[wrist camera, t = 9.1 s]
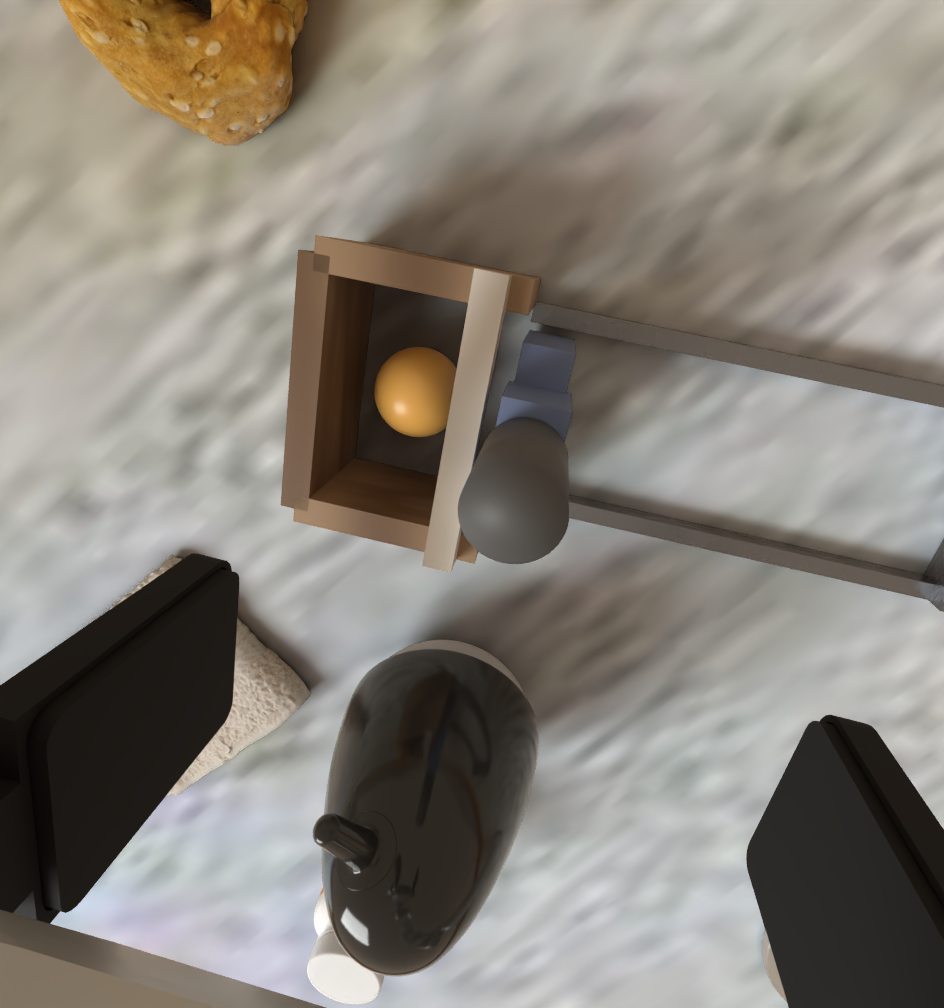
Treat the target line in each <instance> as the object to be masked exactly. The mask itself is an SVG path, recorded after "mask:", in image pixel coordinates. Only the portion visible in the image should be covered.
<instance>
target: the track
mask: <svg viewBox="0 0 944 1008" xmlns="http://www.w3.org/2000/svg"><path fill="white" fill-rule="evenodd" d="M531 322H535V323H540V324H545V325H550V326H555V327H559V328H564V329H569V330H574V331H579V332H583V333H588V334H593V335H598V336H603V337H607V338H612V339H617V340H622V341H627V342H631V343H636V344H641V345H646V346H651V347H655V348H660V349H665V350H670V351H675V352H679V353H684V354H689V355H694V356H699V357H703V358H708V359H713V360H718V361H723V362H728V363H732V364H737V365H742V366H747V367H752V368H756V369H761V370H766V371H771V372H776V373H780V374H785V375H790V376H795V377H800V378H804V379H809V380H814V381H819V382H824V383H828V384H833V385H838V386H843V387H848V388H852V389H857V390H862V391H867V392H872V393H876V394H881V395H886V396H891V397H896V398H900V399H905V400H910V401H915V402H920V403H924V404H929V405H934V406H939V407H944V385H939V384H934V383H929V382H924V381H919V380H914V379H910V378H905V377H900V376H895V375H890V374H885V373H880V372H876V371H871V370H866V369H861V368H856V367H851V366H846V365H842V364H837V363H832V362H827V361H822V360H817V359H812V358H808V357H803V356H798V355H793V354H788V353H783V352H778V351H774V350H769V349H764V348H759V347H754V346H749V345H744V344H740V343H735V342H730V341H725V340H720V339H715V338H710V337H706V336H701V335H696V334H691V333H686V332H681V331H676V330H672V329H667V328H662V327H657V326H652V325H647V324H642V323H638V322H633V321H628V320H623V319H618V318H613V317H608V316H604V315H599V314H594V313H589V312H584V311H579V310H574V309H570V308H565V307H560V306H555V305H550V304H545V303H540V302H535V304H534V309H533V313H532V318H531ZM569 518H572V519H577V520H581V521H585V522H590V523H594V524H599V525H603V526H607V527H612V528H616V529H621V530H625V531H629V532H634V533H638V534H642V535H647V536H651V537H656V538H660V539H664V540H669V541H673V542H677V543H682V544H686V545H691V546H695V547H699V548H704V549H708V550H713V551H717V552H721V553H726V554H730V555H734V556H739V557H743V558H748V559H752V560H756V561H761V562H765V563H770V564H774V565H778V566H783V567H787V568H791V569H796V570H800V571H805V572H809V573H813V574H818V575H822V576H827V577H831V578H835V579H840V580H844V581H848V582H853V583H857V584H862V585H866V586H870V587H875V588H879V589H883V590H888V591H892V592H897V593H901V594H905V595H910V596H914V597H919V598H923V599H927V600H929V601H930V602H931V603H932V604H933V605H934V606H935V607H936V608H938V609H939V610H940V611H943V612H944V539H943V541H942V543H941V545H940V546H939V548H938V550H937V552H936V554H935V556H934V557H933V559H932V561H931V563H930V565H929V567H928V568H927V570H926V572H925V574H924V575H922V574H917V573H913V572H909V571H904V570H900V569H895V568H891V567H886V566H882V565H877V564H873V563H869V562H864V561H860V560H855V559H851V558H846V557H842V556H838V555H833V554H829V553H824V552H820V551H815V550H811V549H807V548H802V547H798V546H793V545H789V544H784V543H780V542H776V541H771V540H767V539H762V538H758V537H753V536H749V535H745V534H740V533H736V532H731V531H727V530H722V529H718V528H714V527H709V526H705V525H700V524H696V523H691V522H687V521H683V520H678V519H674V518H669V517H665V516H660V515H656V514H652V513H647V512H643V511H638V510H634V509H629V508H625V507H621V506H616V505H612V504H607V503H603V502H598V501H594V500H590V499H585V498H581V497H576V496H572V495H569Z"/></svg>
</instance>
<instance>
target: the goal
mask: <svg viewBox="0 0 944 1008" xmlns="http://www.w3.org/2000/svg"><path fill="white" fill-rule="evenodd" d="M540 280H541V278H538V277H533V276H528V275H523V274H518V273H513V272H508V271H503V270H499V269H494V268H489V267H484V266H479V265H474V264H469V263H464V262H459V261H454V260H449V259H444V258H440V257H435V256H430V255H425V254H420V253H415V252H410V251H405V250H400V249H395V248H390V247H385V246H380V245H376V244H371V243H365V242H358V241H352V240H345V239H338V238H331V237H324V236H317V235H316V236H315V249H314V251H306V250H298V262H297V277H296V291H295V306H294V320H293V335H292V350H291V364H290V379H289V394H288V408H287V423H286V438H285V452H284V467H283V481H282V496H281V505H282V506H286V507H291V508H294V519H293V521H295V522H300V523H304V524H308V525H312V526H317V527H321V528H325V529H329V530H334V531H338V532H342V533H346V534H351V535H355V536H359V537H363V538H368V539H372V540H376V541H380V542H385V543H389V544H393V545H397V546H402V547H406V548H410V549H414V550H419V551H423V552H425V553H424V559H423V565H422V566H426V567H430V568H434V569H438V570H443V571H447V572H451V571H452V569H453V566H454V563H455V561H456V559H457V560H461V561H465V562H470V563H475V560H476V557H477V554H478V551H477V550H476V549H475V548H474V547H473V546H472V545H471V544H470V543H469V541H468V540H467V539H466V537H465V535H464V534H463V532H462V529H461V527H460V524H459V519H458V501H459V497H460V494H461V492H462V489H463V487H464V485H465V483H466V481H467V479H468V476H469V474H470V472H471V470H472V468H473V466H474V464H475V461H476V456H477V451H478V446H479V441H480V436H481V431H482V426H483V421H484V416H485V411H486V406H487V401H488V396H489V391H490V386H491V381H492V376H493V371H494V365H495V360H496V355H497V350H498V345H499V340H500V335H501V330H502V325H503V320H504V315H505V311H509V312H514V313H519V314H524V315H528V314H529V313H530V311H531V310H532V309H533V308H534V304H535V302H536V298H537V294H538V289H539V284H540ZM375 284H379V285H384V286H389V287H394V288H399V289H403V290H408V291H413V292H418V293H423V294H428V295H432V296H437V297H442V298H447V299H452V300H456V301H461V302H466V303H468V307H467V313H466V319H465V324H464V330H463V336H462V342H461V347H460V353H459V359H458V364H457V370H456V376H455V382H454V387H453V393H452V399H451V405H450V410H449V416H448V422H447V427H446V433H445V439H444V445H443V450H442V456H441V462H440V467H439V473H438V477H437V476H433V475H428V474H424V473H419V472H415V471H411V470H406V469H402V468H397V467H393V466H389V465H384V464H380V463H375V462H371V461H367V460H362V459H358V458H355V451H356V443H357V434H358V425H359V417H360V408H361V400H362V391H363V382H364V374H365V365H366V356H367V348H368V339H369V331H370V322H371V313H372V305H373V296H374V288H375Z"/></svg>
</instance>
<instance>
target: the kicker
mask: <svg viewBox="0 0 944 1008" xmlns="http://www.w3.org/2000/svg"><path fill="white" fill-rule="evenodd" d="M575 356H576V349H575V342H574V339H571V338H566V337H561V336H557V335H552V334H547V333H542V332H537V331H533V330H530V331H529V333H528V334H527V336H526V338H525V340H524V341H523V345H522V350H521V354H520V359H519V364H518V368H517V373H516V378H515V382H512V381H509V383H508V385H507V387H506V389H505V391H504V393H503V395H502V398H501V403H500V408H499V412H498V417H497V422H496V427H495V428H494V429H493V430H492V431H491V433H490V434H489V435H488V437H487V438H486V440H485V442H484V444H483V446H482V448H481V451H480V453H479V455H478V457H477V459H476V461H475V464H474V466H473V468H472V470H471V472H470V474H469V476H468V479H467V481H466V483H465V485H464V487H463V489H462V492H461V494H460V497H459V501H458V519H459V524H460V527H461V529H462V532H463V534H464V535H465V537H466V539H467V540H468V541H469V543H470V544H471V545H472V546H473V547H474V548H475V549H476V550H477V551H479V552H480V553H481V554H483V555H485V556H486V557H488V558H490V559H493V560H495V561H498V562H502V563H508V564H523V563H528V562H532V561H535V560H538V559H540V558H542V557H544V556H545V555H547V554H548V553H550V552H551V551H552V550H553V549H554V548H555V547H556V546H557V545H558V544H559V543H560V541H561V540H562V538H563V536H564V534H565V532H566V529H567V527H568V522H569V480H568V453H567V448H566V445H565V439H566V435H567V431H568V427H569V423H570V419H571V415H572V395H571V394H568V393H566V392H567V388H568V384H569V380H570V376H571V372H572V368H573V364H574V360H575Z"/></svg>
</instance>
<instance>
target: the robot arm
mask: <svg viewBox="0 0 944 1008" xmlns="http://www.w3.org/2000/svg"><path fill="white" fill-rule="evenodd" d="M238 596H239V576H238V574H237V573H236V572H232V570H231V566H230V563H228V562H227V561H224V560H220V559H216V558H212V557H209V556H205V555H201V554H195V553H193V554H191V555H189V556H187V557H186V558H184V559H183V560H181V561H180V562H178V563H177V564H175V565H174V566H173V567H171V568H170V569H168V570H167V571H165V572H164V573H162V574H161V575H160V576H158V577H157V578H155V579H154V580H152V581H151V582H149V583H148V584H147V585H145V586H144V587H142V588H141V589H139V590H138V591H136V592H135V593H133V594H132V595H131V596H129V597H128V598H126V599H125V600H123V601H122V602H120V603H119V604H118V605H116V606H115V607H113V608H112V609H110V610H109V611H107V612H106V613H105V614H103V615H102V616H100V617H99V618H97V619H96V620H94V621H93V622H92V623H90V624H89V625H87V626H86V627H84V628H83V629H81V630H80V631H78V632H77V633H76V634H74V635H73V636H71V637H70V638H68V639H67V640H65V641H64V642H63V643H61V644H60V645H58V646H57V647H55V648H54V649H52V650H51V651H50V652H48V653H47V654H45V655H44V656H42V657H41V658H39V659H38V660H36V661H35V662H34V663H32V664H31V665H29V666H28V667H26V668H25V669H23V670H22V671H21V672H19V673H18V674H16V675H15V676H13V677H12V678H10V679H9V680H8V681H6V682H5V683H3V684H2V685H0V1008H325V1007H322V1006H319V1005H316V1004H312V1003H309V1002H306V1001H303V1000H299V999H296V998H293V997H290V996H286V995H283V994H280V993H277V992H273V991H270V990H267V989H264V988H260V987H257V986H254V985H251V984H248V983H244V982H241V981H238V980H235V979H231V978H228V977H225V976H222V975H218V974H215V973H212V972H209V971H205V970H202V969H199V968H196V967H192V966H189V965H186V964H183V963H180V962H176V961H173V960H170V959H167V958H163V957H160V956H157V955H154V954H150V953H147V952H144V951H141V950H137V949H134V948H131V947H128V946H125V945H121V944H118V943H115V942H112V941H108V940H105V939H101V938H98V937H94V936H91V935H87V934H84V933H80V932H77V931H73V930H70V929H66V928H63V927H59V926H56V925H52V924H50V923H51V922H52V920H53V919H54V918H55V917H56V916H57V914H58V913H59V912H60V911H62V912H65V913H66V912H69V911H71V910H72V909H73V908H75V907H76V906H77V905H78V904H79V903H80V902H81V901H82V899H83V898H84V897H85V896H86V894H87V893H88V892H89V891H90V889H91V888H92V887H93V886H94V884H95V883H96V882H97V881H98V879H99V878H100V877H101V876H102V874H103V873H104V872H105V871H106V870H107V868H108V867H109V866H110V865H111V863H112V862H113V861H114V860H115V858H116V857H117V856H118V855H119V853H120V852H121V851H122V850H123V848H124V847H125V846H126V845H127V843H128V842H129V841H130V840H131V839H132V837H133V836H134V835H135V834H136V832H137V831H138V830H139V829H140V827H141V826H142V825H143V824H144V822H145V821H146V820H147V819H148V817H149V816H150V815H151V814H152V812H153V811H154V810H155V809H156V807H157V806H158V805H159V804H160V803H161V801H162V800H163V799H164V798H165V796H166V795H167V794H168V793H169V791H170V790H171V789H172V788H173V786H174V785H175V784H176V783H177V781H178V780H179V779H180V778H181V776H182V775H183V774H184V773H185V771H186V770H187V769H188V768H189V767H190V765H191V764H192V763H193V762H194V760H195V759H196V758H197V757H198V755H199V754H200V753H201V752H202V750H203V749H204V748H205V747H206V745H207V744H208V743H209V742H210V740H211V739H212V738H213V737H214V735H215V734H216V733H217V732H218V731H219V729H220V728H221V727H222V726H223V724H224V723H225V721H226V720H227V718H228V716H229V713H230V711H231V707H232V703H233V689H234V670H235V652H236V633H237V615H238ZM747 868H748V873H749V876H750V879H751V883H752V886H753V889H754V893H755V896H756V899H757V903H758V906H759V909H760V913H761V916H762V919H763V923H764V926H765V932H764V935H763V938H762V957H763V960H764V964H765V968H766V972H767V975H768V977H769V979H770V982H771V984H772V985H773V987H774V988H775V989H776V991H777V992H778V993H779V995H780V996H781V997H782V998H783V999H785V1000H786V1001H787V1003H788V1006H789V1008H944V829H943V828H942V826H941V825H940V824H939V822H938V821H937V819H936V818H935V816H934V815H933V813H932V812H931V810H930V809H929V807H928V806H927V805H926V803H925V802H924V800H923V799H922V797H921V796H920V794H919V793H918V791H917V790H916V788H915V787H914V786H913V784H912V783H911V781H910V780H909V778H908V777H907V775H906V774H905V772H904V771H903V769H902V768H901V767H900V765H899V764H898V762H897V761H896V759H895V758H894V756H893V755H892V753H891V752H890V750H889V749H888V748H887V746H886V745H885V743H884V742H883V740H882V739H881V737H880V736H879V734H878V733H877V731H876V730H875V729H874V728H873V727H872V726H870V725H868V724H865V723H861V722H857V721H853V720H849V719H845V718H841V717H837V716H833V715H826V716H825V717H823V718H822V719H821V720H820V722H818V721H812V722H811V723H810V724H809V725H808V726H807V728H806V730H805V732H804V734H803V736H802V738H801V740H800V742H799V744H798V746H797V748H796V750H795V752H794V754H793V756H792V758H791V760H790V762H789V764H788V766H787V768H786V770H785V772H784V774H783V776H782V778H781V780H780V782H779V784H778V786H777V788H776V790H775V792H774V794H773V796H772V798H771V800H770V802H769V804H768V806H767V808H766V810H765V812H764V814H763V816H762V818H761V820H760V822H759V824H758V826H757V828H756V830H755V832H754V834H753V836H752V838H751V840H750V843H749V845H748V849H747Z"/></svg>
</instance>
